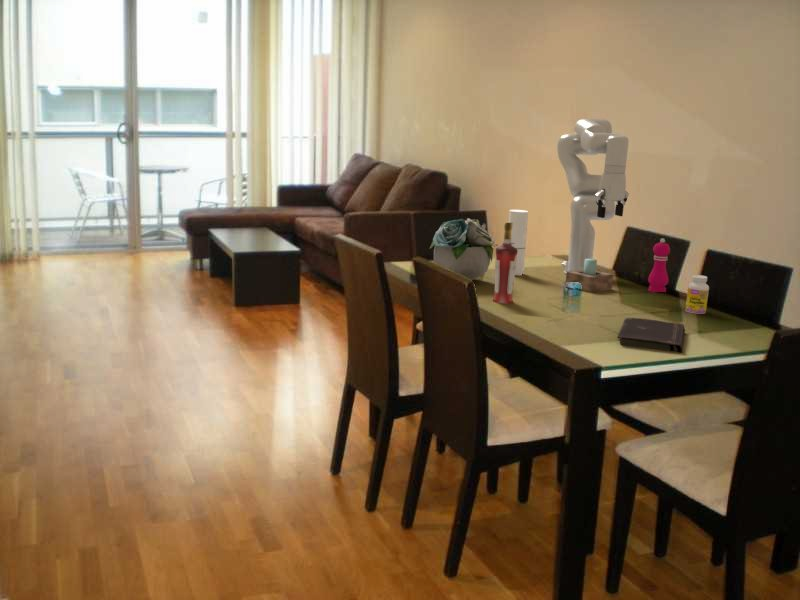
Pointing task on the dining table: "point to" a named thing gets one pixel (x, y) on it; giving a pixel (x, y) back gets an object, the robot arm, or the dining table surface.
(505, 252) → the liquor
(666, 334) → the diary
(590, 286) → the socket block
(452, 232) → the flower arrangement
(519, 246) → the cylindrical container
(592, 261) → the peg
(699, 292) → the supplement bottle
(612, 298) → the dining table surface
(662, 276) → the pepper mill
